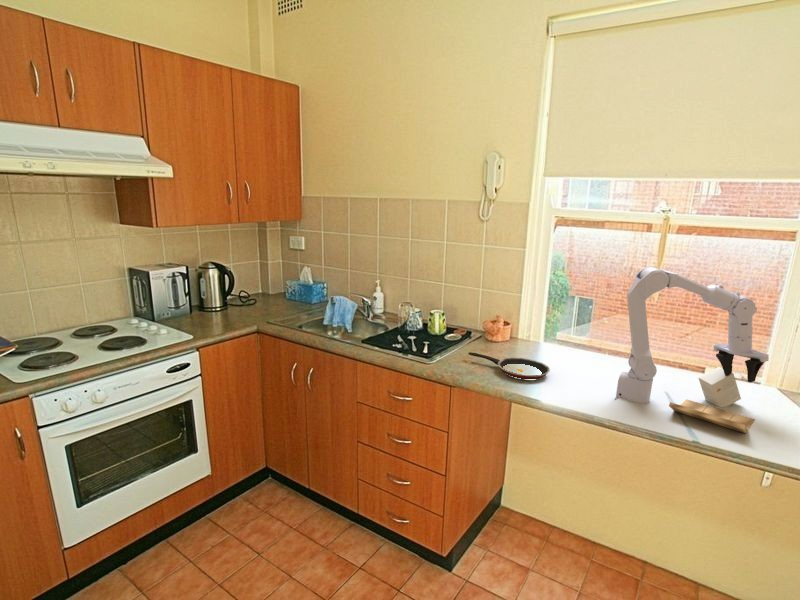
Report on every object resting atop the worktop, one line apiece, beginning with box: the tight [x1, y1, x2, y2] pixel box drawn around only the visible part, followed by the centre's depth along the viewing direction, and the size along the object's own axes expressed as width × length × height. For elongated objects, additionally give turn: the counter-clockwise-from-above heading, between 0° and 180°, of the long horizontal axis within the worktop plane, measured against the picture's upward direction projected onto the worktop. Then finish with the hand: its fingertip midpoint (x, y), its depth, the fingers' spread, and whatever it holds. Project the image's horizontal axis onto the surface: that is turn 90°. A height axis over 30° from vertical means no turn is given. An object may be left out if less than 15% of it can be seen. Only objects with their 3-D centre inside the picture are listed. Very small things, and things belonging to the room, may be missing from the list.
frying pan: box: [468, 351, 551, 380], centre depth 170 cm, size 19×32×4 cm, turn 56°
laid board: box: [680, 398, 756, 431], centre depth 136 cm, size 18×10×1 cm, turn 43°
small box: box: [698, 366, 742, 408], centre depth 143 cm, size 8×6×10 cm
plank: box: [668, 401, 749, 434], centre depth 129 cm, size 18×10×1 cm, turn 43°
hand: (739, 378), depth 136 cm, fingers open, 6 cm apart
